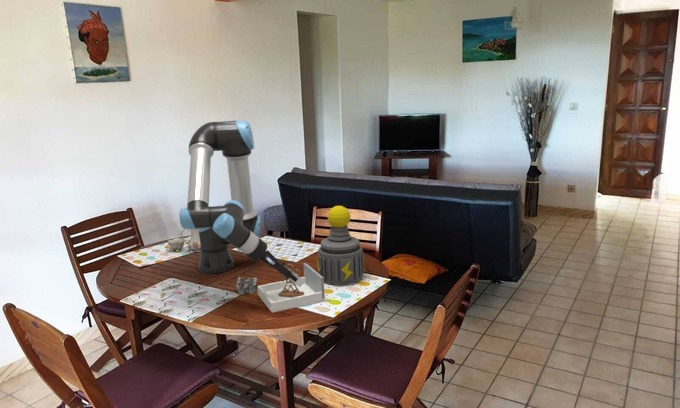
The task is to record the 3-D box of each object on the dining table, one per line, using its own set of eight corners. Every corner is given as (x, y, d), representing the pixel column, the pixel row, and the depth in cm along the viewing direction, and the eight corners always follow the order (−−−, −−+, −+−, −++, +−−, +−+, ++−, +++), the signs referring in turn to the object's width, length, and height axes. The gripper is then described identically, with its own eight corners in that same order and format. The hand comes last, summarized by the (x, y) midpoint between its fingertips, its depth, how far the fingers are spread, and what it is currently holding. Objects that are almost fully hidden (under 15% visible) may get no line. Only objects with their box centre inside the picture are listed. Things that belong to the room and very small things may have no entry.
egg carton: (238, 285, 200) (238, 275, 199) (257, 284, 201) (257, 274, 200) (235, 295, 190) (235, 285, 189) (255, 294, 190) (255, 284, 189)
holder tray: (257, 294, 189) (256, 272, 187) (307, 284, 197) (305, 263, 195) (271, 312, 173) (270, 288, 171) (324, 300, 181) (323, 277, 179)
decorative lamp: (324, 289, 192) (320, 213, 185) (313, 272, 210) (310, 203, 203) (370, 282, 197) (368, 208, 190) (356, 267, 214) (354, 199, 208)
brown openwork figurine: (278, 296, 184) (275, 265, 182) (283, 292, 188) (280, 261, 186) (299, 297, 181) (297, 266, 179) (304, 294, 185) (301, 263, 182)
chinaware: (216, 242, 264) (212, 211, 262) (230, 246, 251) (226, 213, 249) (164, 254, 247) (158, 222, 245) (176, 259, 234) (170, 224, 232)
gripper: (239, 247, 183) (284, 280, 193) (252, 262, 166) (301, 298, 176) (252, 231, 184) (296, 265, 194) (267, 245, 167) (314, 281, 177)
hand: (298, 281), depth 185 cm, fingers open, 6 cm apart
